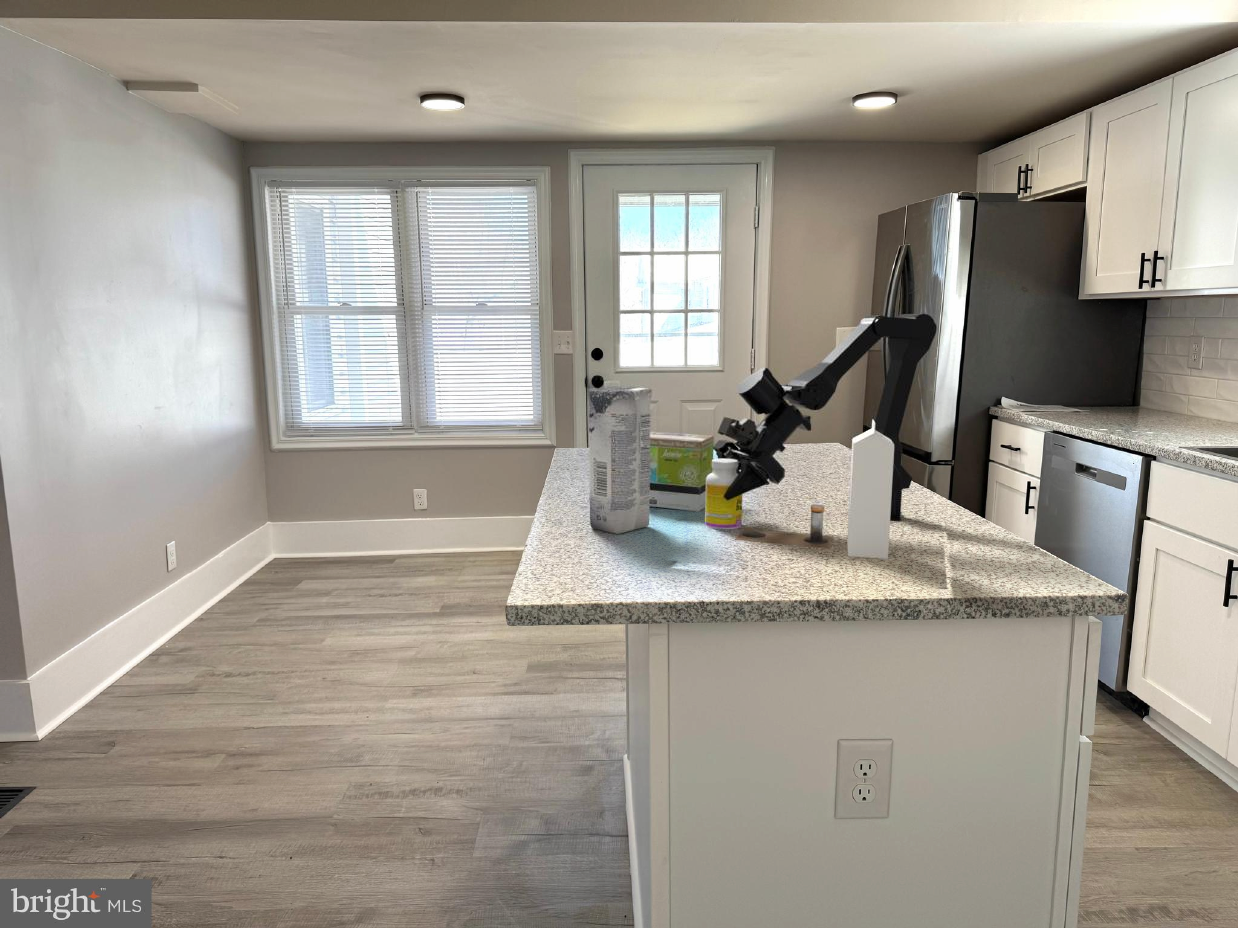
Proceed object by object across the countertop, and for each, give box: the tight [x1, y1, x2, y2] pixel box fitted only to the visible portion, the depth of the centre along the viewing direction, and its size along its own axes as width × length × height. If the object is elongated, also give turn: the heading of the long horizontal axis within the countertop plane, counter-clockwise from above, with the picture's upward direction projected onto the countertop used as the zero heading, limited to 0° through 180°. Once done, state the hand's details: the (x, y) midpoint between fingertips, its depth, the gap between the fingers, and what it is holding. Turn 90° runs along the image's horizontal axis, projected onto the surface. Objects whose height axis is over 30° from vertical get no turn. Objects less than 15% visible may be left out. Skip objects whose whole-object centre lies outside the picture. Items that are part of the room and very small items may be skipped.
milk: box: [846, 419, 894, 560], centre depth 126 cm, size 6×6×22 cm
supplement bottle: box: [704, 458, 743, 530], centre depth 145 cm, size 7×7×13 cm
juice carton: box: [587, 380, 653, 535], centre depth 146 cm, size 9×10×27 cm
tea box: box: [649, 431, 715, 513], centre depth 167 cm, size 15×10×15 cm, turn 68°
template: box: [734, 528, 835, 549], centre depth 137 cm, size 16×8×1 cm, turn 69°
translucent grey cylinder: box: [809, 503, 825, 542], centre depth 134 cm, size 2×2×6 cm
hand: (716, 494), depth 145 cm, fingers closed on supplement bottle, 7 cm apart
